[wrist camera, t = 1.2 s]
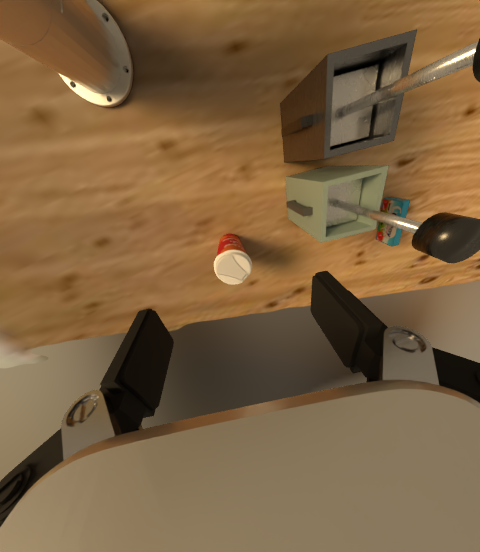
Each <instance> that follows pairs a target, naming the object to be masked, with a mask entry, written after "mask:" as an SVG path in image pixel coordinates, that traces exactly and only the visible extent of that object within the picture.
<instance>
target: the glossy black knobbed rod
mask: <svg viewBox="0 0 480 552" xmlns="http://www.w3.org/2000/svg"><path fill="white" fill-rule="evenodd" d="M362 179H363V178H360V179H356V180H352V181H349V182H345V183H341V184H337V185H333V186H329V187H328V199H327V219H326V227H328V226H332V225H336V224H340V223H344V222H348V221H352V220H356V219H357V214H358V215H361V216H364V217H367V218H370V219H373V220H376V221H379V222H382V223H385V224H388V225H391V226H394V227H397V228H400V229H402V230H405V231H408V232H411V233H414V236H413V239H412V246H413V247H414V248H415V249H416V250H418V251H421V252H423V253H426V254H428V255H430V256H433V257H435V258H438V259H440V260H442V261H445V262H447V263H457V262H460V261H463V260H465V259H467V258H469V257H471V256H472V255H474V254H475V253H476V252H478V251H479V250H480V219H476V218H471V217H466V216H461V215H456V214H451V213H445V212H444V213H438V214H436V215H433V216H432V217H430V218H428V219H427V220H426V221H424V222H423V223H421V222H417V221H413V220H410V219H406V218H402V217H399V216H395V215H391V214H388V213H384V212H380V211H377V210H373V209H370V208H366V207H362V206H359V200H360V193H361V186H362Z"/></svg>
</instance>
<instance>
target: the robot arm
mask: <svg viewBox="0 0 480 552" xmlns="http://www.w3.org/2000/svg"><path fill="white" fill-rule="evenodd" d="M108 19H109V21H108V22H107V20H108ZM0 39H1V40H3V41H5V42H6V43H8V44H10V45H12V46H13V47H15V48H17V49H18V50H20V51H22V52H24V53H25V54H27V55H29V56H30V57H32V58H34V59H35V60H37V61H39V62H41V63H42V64H44V65H46V66H47V67H49V68H51V69H53V70H54V71H56V72H58V74H59V75H60V76H61V78H62V79H63V80H64V82H65V83H66V84H67V85H68V86H69V87H70V88H71V89H72V90H73V91H74V92H75V93H76V94H78V95H79V96H80V97H82V98H83V99H85V100H87V101H88V102H90V103H92V104H95V105H98V106H101V107H114V106H117V105H119V104H121V103H122V102H123V101H124V100H125V99H126V98H127V96H128V95H129V93H130V90H131V87H132V82H133V64H132V59H131V54H130V51H129V48H128V45H127V42H126V40H125V38H124V35H123V33H122V32H121V30H120V28H119V27H118V25H117V23H116V22H115V20H114V19H113V18H112V16H111V15H110V14H109V12H108V11H107V10H106V9H105V8H104V7H103V5H102V4H100V3H99V2H98V1H97V0H0ZM127 70H129V72H128V73H127ZM75 85H76V87H75ZM111 99H112V102H111ZM311 313H312V315H313V317H314V318H315V320H316V322H317V323H318V325H319V326H320V328H321V329H322V331H323V333H324V334H325V336H326V337H327V339H328V340H329V342H330V343H331V345H332V347H333V348H334V350H335V351H336V353H337V354H338V356H339V358H340V359H341V361H342V362H343V364H344V365H345V366H346V367H349V368H350V370H351V371H352V372H353V373H357V372H362V373H363V374H364V376H365V377H367V381H366V383H360V384H355V385H350V386H344V387H339V388H333V389H328V390H323V391H319V392H314V393H309V394H304V395H299V396H294V397H290V398H285V399H280V400H275V401H270V402H266V403H261V404H256V405H251V406H247V407H242V408H237V409H233V410H229V411H223V412H218V413H214V414H209V415H205V416H200V417H196V418H191V419H186V420H182V421H177V422H173V423H168V424H163V425H159V426H154V427H150V428H146V429H143V427H142V425H141V422H142V419H143V418H145V417H150V416H154V413H155V409H156V408H157V407H158V406H159V402H160V398H161V394H162V390H163V386H164V381H165V378H166V374H167V369H168V365H169V361H170V357H171V353H172V349H173V343H174V342H173V339H172V337H171V335H170V334H169V332H168V330H167V329H166V327H165V326H164V324H163V322H162V321H161V319H160V318H159V316H158V314H157V313H156V311H154V310H152V309H146V310H141V311H139V312H138V314H137V316H136V318H135V319H134V321H133V323H132V325H131V327H130V329H129V331H128V333H127V335H126V336H125V338H124V340H123V342H122V344H121V346H120V348H119V350H118V351H117V353H116V355H115V357H114V359H113V361H112V363H111V365H110V367H109V368H108V371H107V372H106V374H105V376H104V378H103V380H102V382H101V388H100V390H92V391H90V392H87V393H85V394H84V395H82V396H81V397H80V398H78V399H77V400H76V401H75V402H74V403H73V404H72V405H71V406H70V408H69V409H68V411H67V412H66V414H65V415H64V418H63V420H62V425H61V429H60V430H58V431H57V432H56V433H55V434H54V435H53V436H51V437H50V438H49V439H48V440H47V441H46V442H44V443H43V444H42V445H41V446H40V447H39V448H37V449H36V450H35V451H34V452H33V453H32V454H30V455H29V456H28V457H27V458H26V459H25V460H24V461H22V462H21V463H20V464H19V465H18V466H16V467H15V468H14V469H13V470H12V471H11V472H9V473H8V474H7V475H6V476H5V477H4V478H3V479H2V480H1V482H0V552H480V363H477V362H475V361H472V360H468V359H466V358H463V357H460V356H456V355H453V354H451V353H448V352H444V351H441V350H439V349H435V348H432V347H431V344H430V342H429V341H428V340H427V339H426V338H425V337H424V336H423V335H421V334H420V333H418V332H416V331H414V330H412V329H409V328H406V327H401V326H392V327H389V328H388V327H387V326H386V325H385V324H384V323H382V322H381V321H380V320H379V319H378V318H377V317H376V316H375V315H374V314H373V313H372V312H371V311H370V310H369V309H368V308H367V307H366V306H365V305H364V304H362V302H361V301H360V300H358V299H357V298H356V297H355V296H354V295H353V294H352V293H351V292H350V291H348V290H347V289H346V288H345V287H343V286H342V285H341V284H340V283H339V282H338V281H337V280H336V279H335V278H334V277H333V276H332V275H331V274H330V273H329V272H328V271H323V272H318V273H316V274H315V276H313V279H312V295H311Z"/></svg>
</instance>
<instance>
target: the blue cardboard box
mask: <svg viewBox="0 0 480 552" xmlns="http://www.w3.org/2000/svg"><path fill="white" fill-rule="evenodd" d="M409 203H410V201H409V200H406V199H400V198H395V197H388V198H384V199H383V204H382V210H381V212H384V213H388V214H391V215H395V216H399V217H402V218H406V214H407V211H408V207H409ZM401 233H402V229H400V228H397V227H394V226H391V225H388V224H385V223H382V222H379V226H378V231H377V236H376V239H377V240H379V241H381V242H383V243H385V244H387V245H389V246H396V245H398V244H399V241H400V237H401Z"/></svg>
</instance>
